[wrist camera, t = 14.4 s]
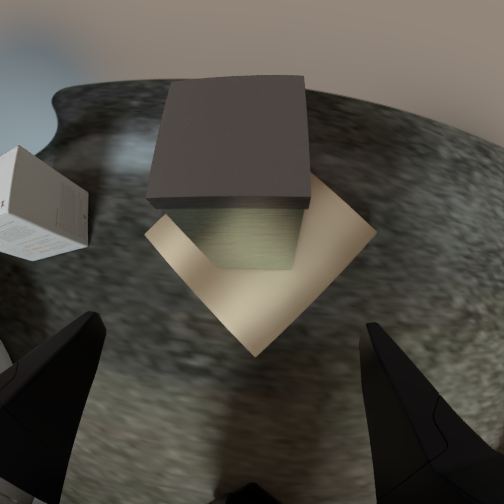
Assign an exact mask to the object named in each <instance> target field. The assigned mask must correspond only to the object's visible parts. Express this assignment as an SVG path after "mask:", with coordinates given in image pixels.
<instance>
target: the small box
mask: <svg viewBox="0 0 504 504" xmlns="http://www.w3.org/2000/svg"><path fill="white" fill-rule="evenodd" d="M84 247H88V192H87V191H85V190H84V189H82V188H81V187H79V186H78V185H76V184H75V183H73V182H72V181H70V180H69V179H68V178H66V177H64V176H63V175H61V174H60V173H58V172H57V171H56V170H54V169H53V168H51V167H50V166H48V165H47V164H46V163H44V162H43V161H41V160H40V159H38V158H37V157H35V156H34V155H32V154H31V153H30V152H28V151H27V150H25V149H24V148H22V147H21V146H20V145H18V146H16V147H15V148H13V149H12V150H10V151H8V152H6V153H5V154H3V155H2V156H0V252H3V253H7V254H10V255H13V256H17V257H20V258H23V259H27V260H30V261H35V260H39V259H42V258H46V257H50V256H53V255H57V254H61V253H65V252H69V251H72V250H76V249H80V248H84Z"/></svg>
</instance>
